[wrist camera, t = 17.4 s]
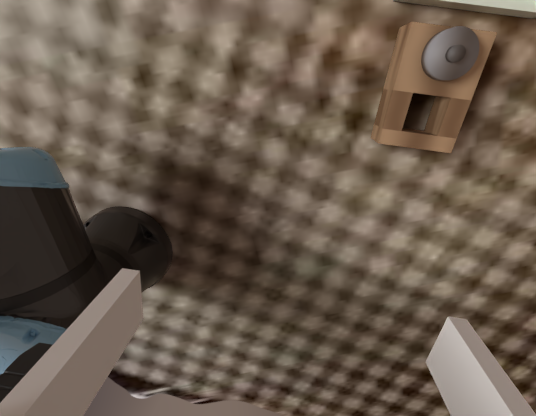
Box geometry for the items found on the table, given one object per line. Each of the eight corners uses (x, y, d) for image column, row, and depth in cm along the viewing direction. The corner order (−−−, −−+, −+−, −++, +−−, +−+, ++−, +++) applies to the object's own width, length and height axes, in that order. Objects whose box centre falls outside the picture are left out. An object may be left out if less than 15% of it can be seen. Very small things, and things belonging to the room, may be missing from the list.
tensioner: (370, 137, 40) (384, 147, 34) (399, 27, 35) (421, 16, 29) (436, 146, 40) (462, 158, 34) (475, 37, 34) (514, 28, 28)
